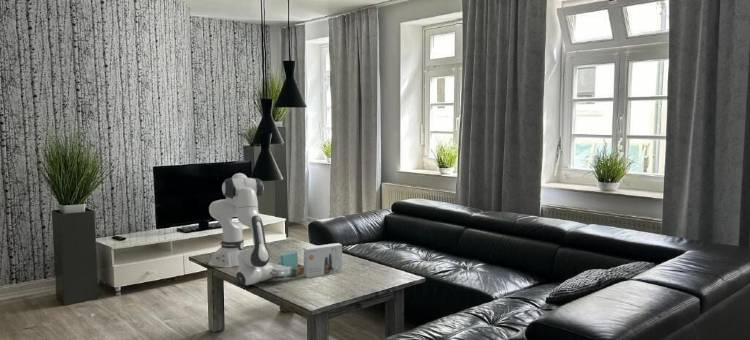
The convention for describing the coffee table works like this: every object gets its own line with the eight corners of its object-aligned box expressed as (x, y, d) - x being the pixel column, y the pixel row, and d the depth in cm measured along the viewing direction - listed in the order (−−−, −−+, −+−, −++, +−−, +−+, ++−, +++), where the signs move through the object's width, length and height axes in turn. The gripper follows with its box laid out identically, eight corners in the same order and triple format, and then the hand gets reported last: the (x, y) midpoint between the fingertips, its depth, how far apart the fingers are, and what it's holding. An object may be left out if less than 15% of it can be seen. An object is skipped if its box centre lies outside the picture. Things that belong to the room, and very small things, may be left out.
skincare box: (307, 278, 311) (306, 249, 309) (303, 276, 315) (302, 247, 314) (343, 272, 320) (342, 244, 319) (339, 270, 325) (338, 242, 323)
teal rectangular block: (284, 277, 313) (283, 255, 312) (281, 276, 315) (280, 255, 314) (298, 273, 321) (297, 252, 320) (295, 272, 322) (294, 251, 321)
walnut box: (296, 276, 314) (296, 269, 314) (283, 273, 321) (283, 266, 321) (307, 273, 320) (307, 266, 320) (294, 270, 327) (293, 263, 327)
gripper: (277, 268, 298) (297, 262, 308) (252, 262, 311) (273, 257, 321) (278, 280, 298) (298, 274, 309) (253, 274, 311) (273, 268, 322)
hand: (285, 265), depth 315 cm, fingers open, 8 cm apart
